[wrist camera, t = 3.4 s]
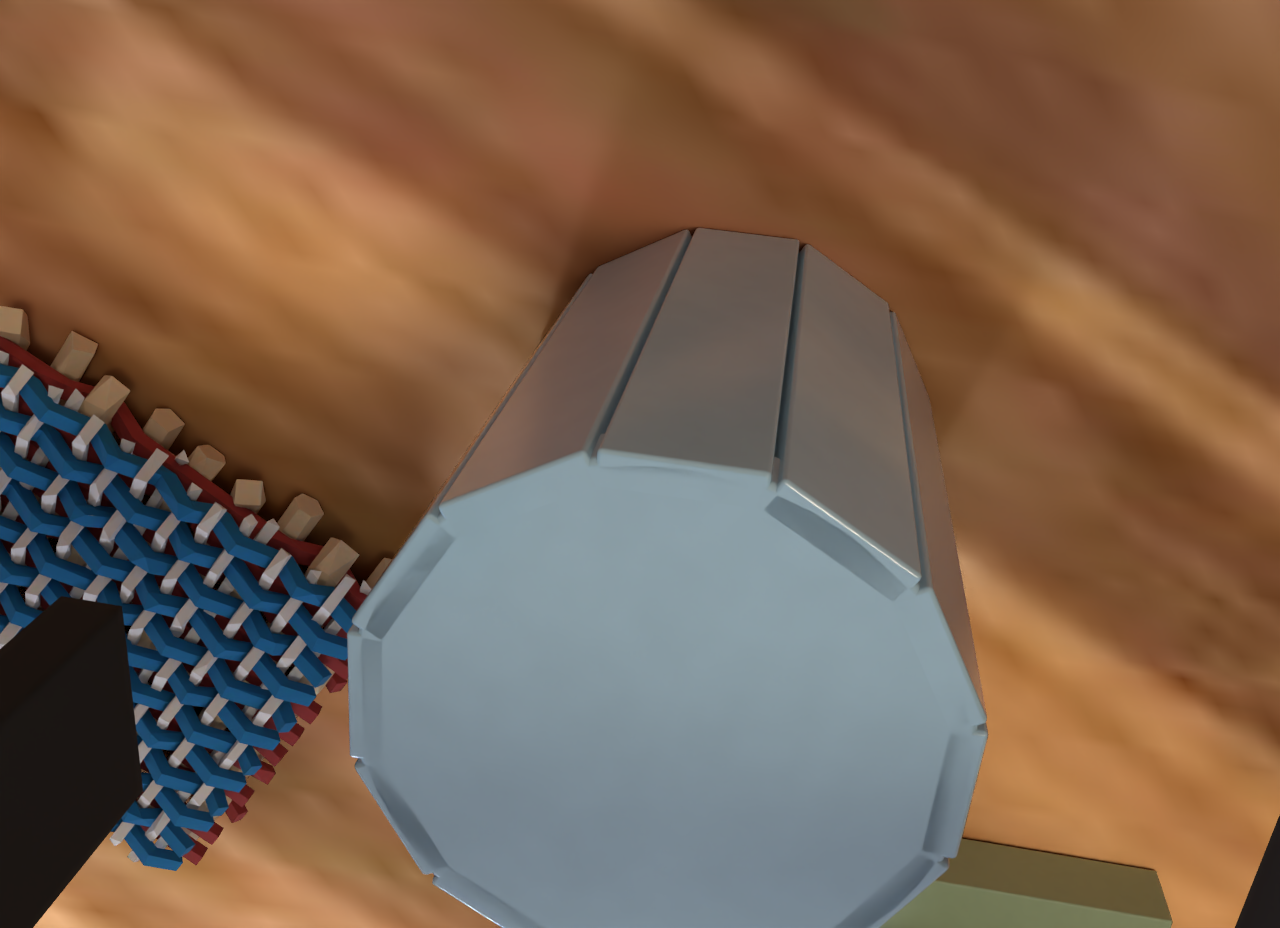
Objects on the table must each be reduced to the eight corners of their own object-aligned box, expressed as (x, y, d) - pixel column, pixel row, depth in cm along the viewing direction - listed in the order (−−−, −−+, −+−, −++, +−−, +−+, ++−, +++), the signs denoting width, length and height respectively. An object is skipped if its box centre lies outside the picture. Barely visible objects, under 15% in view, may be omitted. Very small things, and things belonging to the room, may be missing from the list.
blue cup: (518, 677, 27) (356, 1068, 18) (541, 207, 22) (340, 412, 13) (864, 733, 26) (877, 1170, 17) (960, 258, 22) (1047, 512, 13)
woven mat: (213, 848, 30) (173, 909, 28) (-163, 601, 29) (-231, 648, 27) (434, 578, 26) (404, 629, 24) (5, 269, 24) (-62, 299, 23)
